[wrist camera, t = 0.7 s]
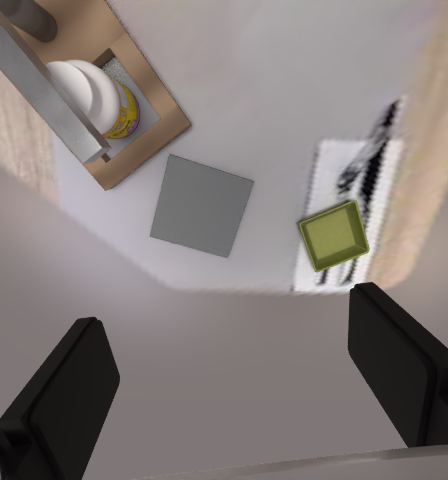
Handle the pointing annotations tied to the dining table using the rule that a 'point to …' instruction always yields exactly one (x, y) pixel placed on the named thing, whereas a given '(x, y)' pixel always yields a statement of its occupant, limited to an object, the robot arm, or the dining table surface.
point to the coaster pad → (200, 206)
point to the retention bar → (48, 96)
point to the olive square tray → (335, 236)
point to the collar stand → (98, 53)
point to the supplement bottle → (98, 97)
